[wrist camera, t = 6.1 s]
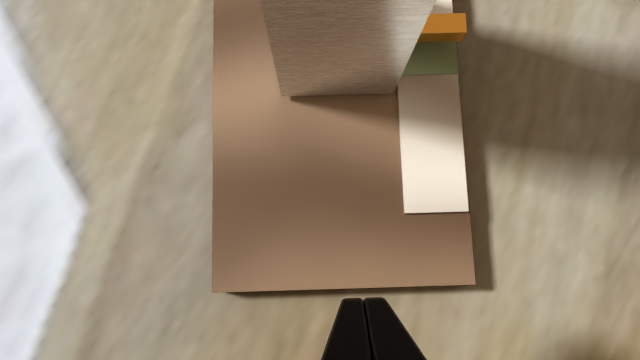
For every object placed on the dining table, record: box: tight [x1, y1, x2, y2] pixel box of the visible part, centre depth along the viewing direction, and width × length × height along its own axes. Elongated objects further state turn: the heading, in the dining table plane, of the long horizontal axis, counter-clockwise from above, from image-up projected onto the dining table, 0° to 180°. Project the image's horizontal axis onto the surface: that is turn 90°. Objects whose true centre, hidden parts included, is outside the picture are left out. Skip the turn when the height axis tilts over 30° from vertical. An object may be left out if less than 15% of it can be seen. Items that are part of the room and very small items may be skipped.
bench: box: [212, 0, 476, 293], centre depth 16 cm, size 18×9×6 cm, turn 2°
